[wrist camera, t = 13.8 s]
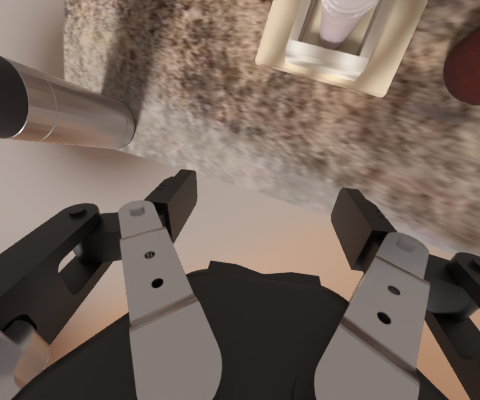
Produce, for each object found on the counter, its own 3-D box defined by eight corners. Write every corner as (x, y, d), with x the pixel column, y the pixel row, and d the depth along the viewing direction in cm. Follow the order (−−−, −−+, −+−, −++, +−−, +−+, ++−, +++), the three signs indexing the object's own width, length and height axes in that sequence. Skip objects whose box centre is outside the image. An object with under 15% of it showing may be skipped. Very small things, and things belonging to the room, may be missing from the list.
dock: (256, 63, 33) (251, 46, 28) (282, -23, 31) (281, -59, 26) (381, 97, 31) (400, 84, 26) (423, 6, 28) (453, -29, 23)
